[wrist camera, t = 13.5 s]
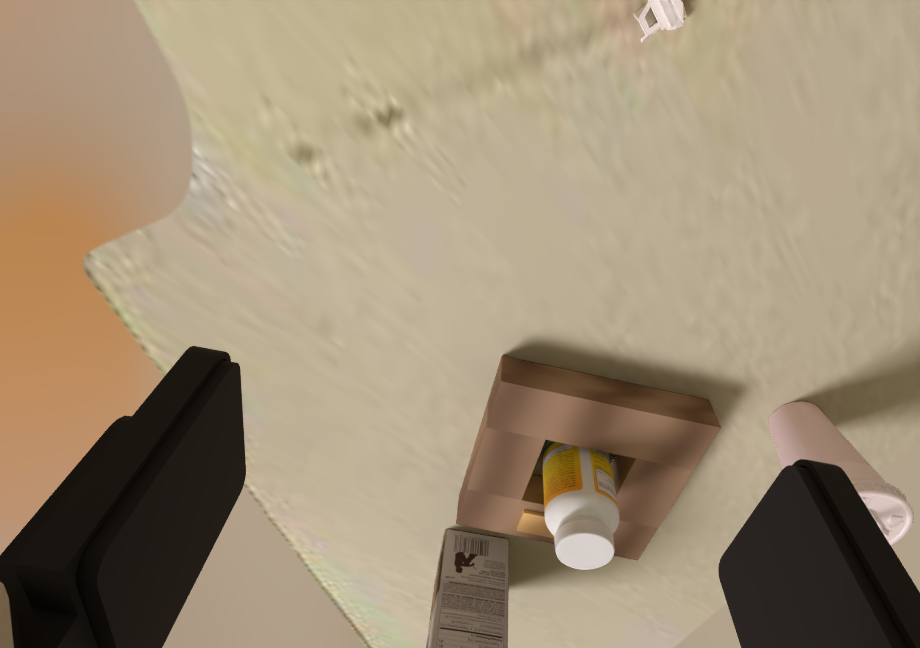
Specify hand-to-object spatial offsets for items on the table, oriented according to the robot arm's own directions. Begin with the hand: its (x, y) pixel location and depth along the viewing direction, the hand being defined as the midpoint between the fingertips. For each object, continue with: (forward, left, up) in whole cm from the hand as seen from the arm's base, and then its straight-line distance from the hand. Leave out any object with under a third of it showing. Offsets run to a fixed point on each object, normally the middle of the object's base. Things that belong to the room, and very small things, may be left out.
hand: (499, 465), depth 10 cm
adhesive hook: (-5, -6, -28) cm, 29 cm away
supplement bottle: (-12, +25, -28) cm, 39 cm away
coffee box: (-7, +43, -28) cm, 51 cm away
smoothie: (-27, +18, -28) cm, 42 cm away
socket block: (-12, +26, -28) cm, 39 cm away
